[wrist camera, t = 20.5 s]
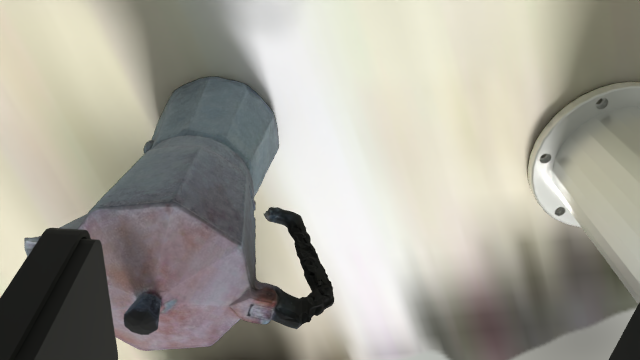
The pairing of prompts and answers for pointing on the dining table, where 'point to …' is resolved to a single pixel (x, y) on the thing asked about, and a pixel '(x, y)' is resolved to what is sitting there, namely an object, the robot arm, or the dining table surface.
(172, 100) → the moka pot
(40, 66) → the dining table surface
